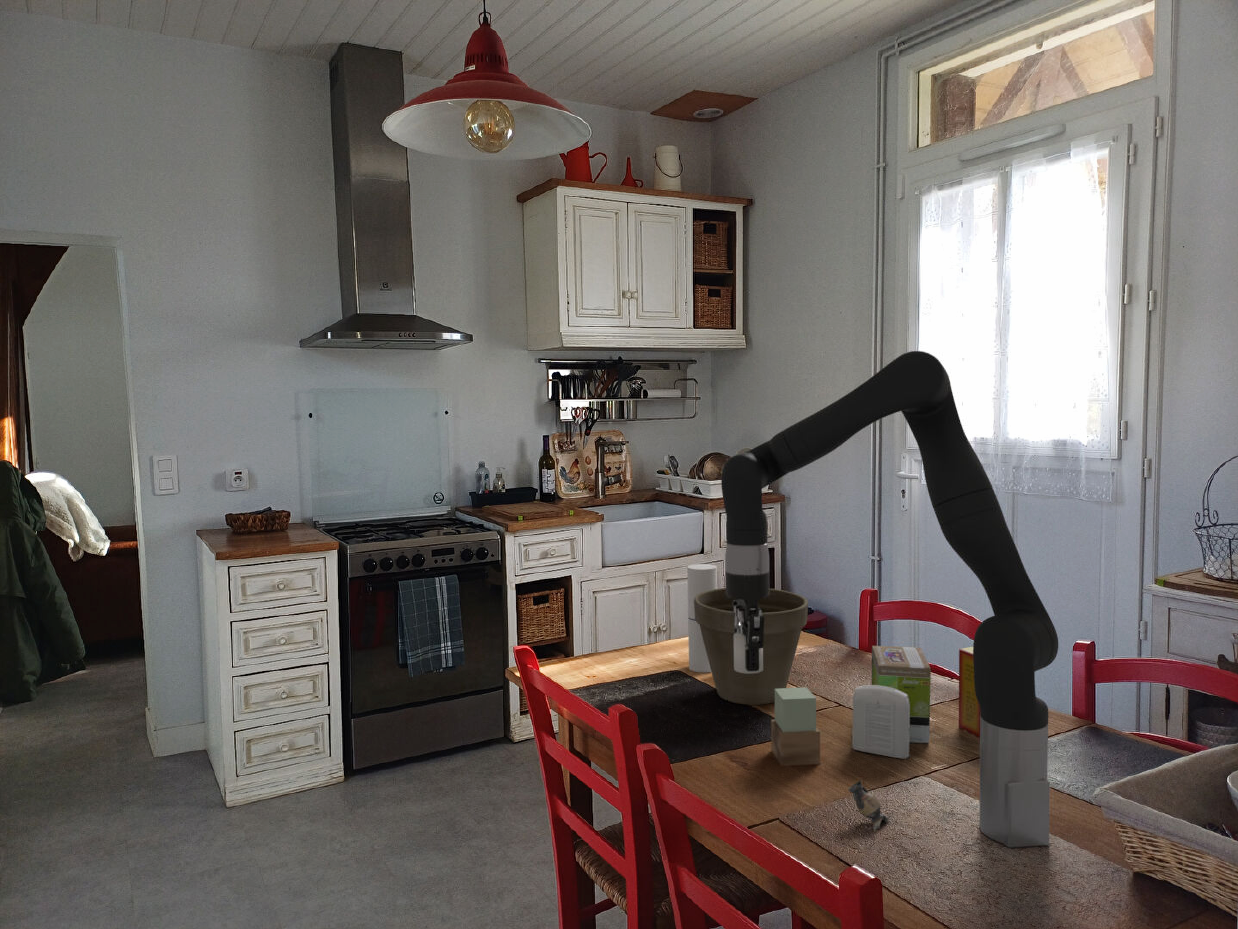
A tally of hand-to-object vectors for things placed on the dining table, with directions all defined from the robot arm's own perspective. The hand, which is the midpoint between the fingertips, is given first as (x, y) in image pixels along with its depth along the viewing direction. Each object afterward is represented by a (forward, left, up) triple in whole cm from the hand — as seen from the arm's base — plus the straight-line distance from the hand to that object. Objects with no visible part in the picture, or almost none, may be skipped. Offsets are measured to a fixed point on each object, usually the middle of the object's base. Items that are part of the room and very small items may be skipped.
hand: (748, 665), depth 156 cm
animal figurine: (-20, -14, -19) cm, 31 cm away
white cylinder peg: (0, 0, -1) cm, 1 cm away
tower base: (+6, -10, -19) cm, 23 cm away
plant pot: (+41, -10, -19) cm, 47 cm away
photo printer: (+6, -26, -19) cm, 33 cm away
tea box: (+17, -34, -19) cm, 43 cm away
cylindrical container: (+62, -3, -19) cm, 65 cm away
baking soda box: (+14, -51, -19) cm, 56 cm away
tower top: (+6, -10, -13) cm, 18 cm away
